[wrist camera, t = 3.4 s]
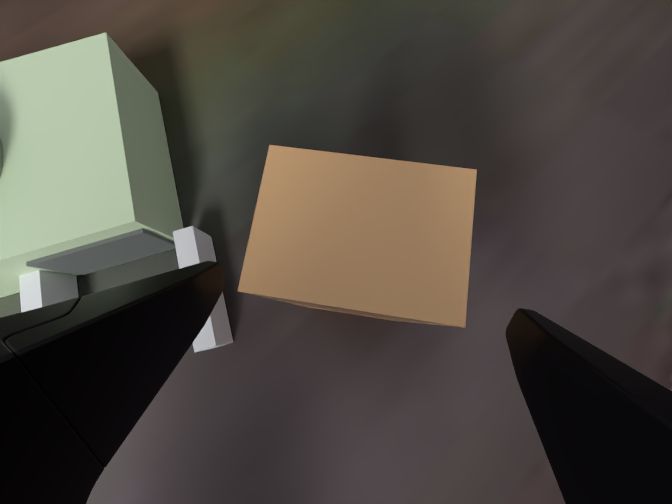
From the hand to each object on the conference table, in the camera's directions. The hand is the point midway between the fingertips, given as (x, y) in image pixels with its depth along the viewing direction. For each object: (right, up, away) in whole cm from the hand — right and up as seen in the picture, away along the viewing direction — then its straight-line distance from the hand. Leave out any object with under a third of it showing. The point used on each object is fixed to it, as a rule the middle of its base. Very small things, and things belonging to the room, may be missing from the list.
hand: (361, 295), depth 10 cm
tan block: (0, 0, +10) cm, 10 cm away
